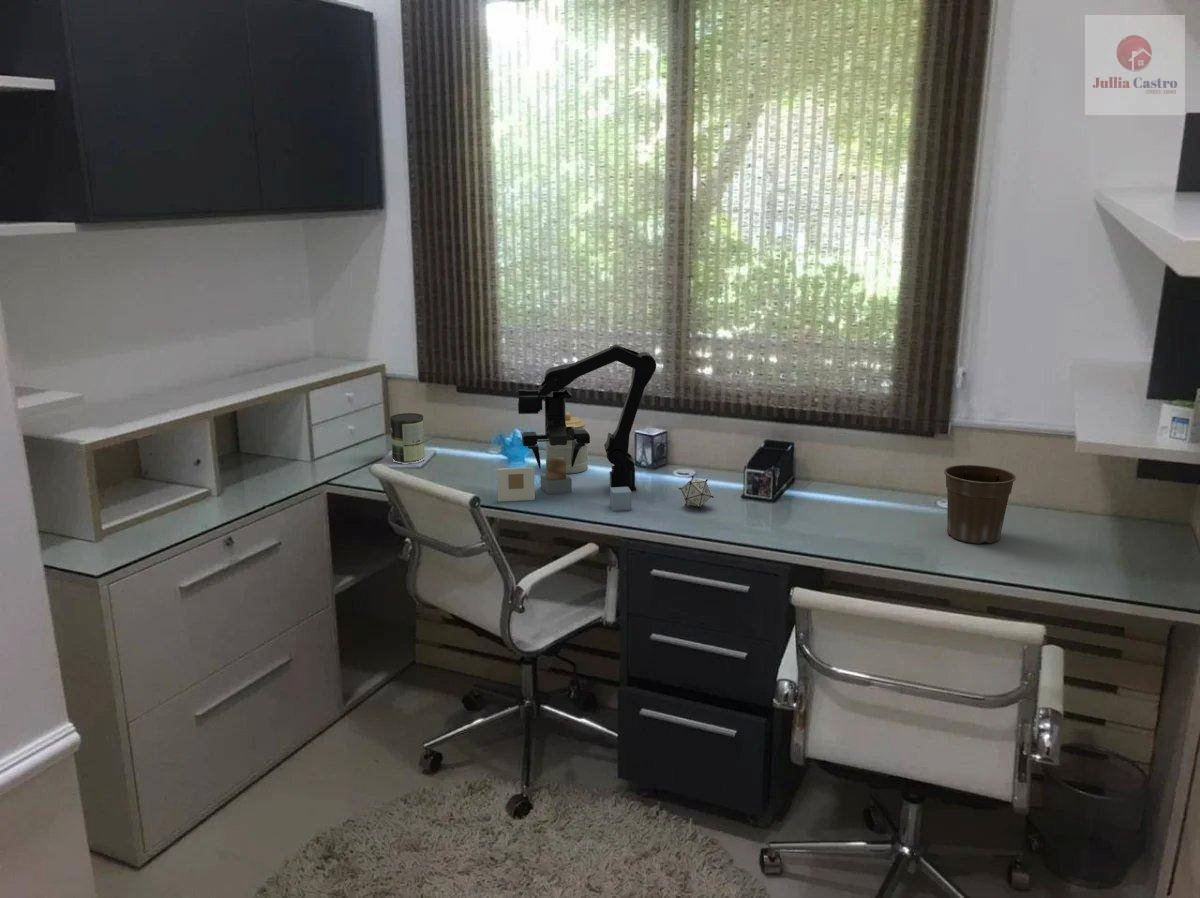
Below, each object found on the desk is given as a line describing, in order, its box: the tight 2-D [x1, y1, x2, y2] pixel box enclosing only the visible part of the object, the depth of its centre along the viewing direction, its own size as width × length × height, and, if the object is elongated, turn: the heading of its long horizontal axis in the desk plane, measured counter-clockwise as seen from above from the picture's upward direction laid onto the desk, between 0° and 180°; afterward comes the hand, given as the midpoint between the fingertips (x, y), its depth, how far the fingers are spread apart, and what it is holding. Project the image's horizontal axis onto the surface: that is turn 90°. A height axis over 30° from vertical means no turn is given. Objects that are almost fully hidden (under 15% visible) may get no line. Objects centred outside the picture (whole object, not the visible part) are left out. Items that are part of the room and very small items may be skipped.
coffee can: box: [389, 412, 426, 463], centre depth 303 cm, size 10×10×14 cm
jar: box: [545, 411, 589, 475], centre depth 293 cm, size 13×13×18 cm
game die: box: [678, 475, 715, 511], centre depth 258 cm, size 9×8×10 cm
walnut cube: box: [545, 457, 566, 480], centre depth 273 cm, size 5×5×5 cm
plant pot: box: [943, 464, 1017, 544], centre depth 235 cm, size 16×16×16 cm
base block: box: [540, 473, 573, 495], centre depth 274 cm, size 7×7×4 cm
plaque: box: [496, 466, 536, 502], centre depth 264 cm, size 10×2×9 cm, turn 100°
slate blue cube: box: [609, 486, 633, 512], centre depth 258 cm, size 5×5×5 cm
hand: (556, 467), depth 273 cm, fingers open, 9 cm apart
